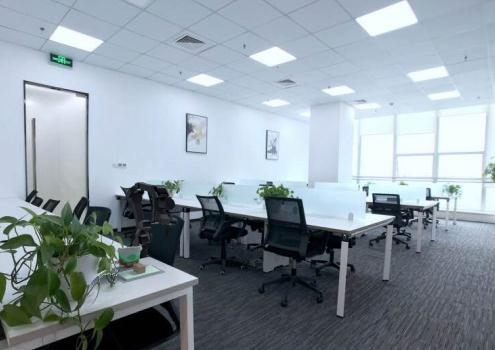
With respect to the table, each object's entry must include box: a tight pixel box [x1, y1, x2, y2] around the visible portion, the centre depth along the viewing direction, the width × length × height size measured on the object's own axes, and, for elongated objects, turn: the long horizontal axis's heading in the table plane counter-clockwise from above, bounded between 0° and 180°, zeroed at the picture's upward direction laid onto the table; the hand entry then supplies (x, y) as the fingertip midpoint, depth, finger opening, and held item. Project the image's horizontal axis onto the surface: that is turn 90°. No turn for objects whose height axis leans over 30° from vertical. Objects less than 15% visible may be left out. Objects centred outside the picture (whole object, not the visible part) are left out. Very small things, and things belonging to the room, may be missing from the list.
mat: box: [115, 265, 166, 284], centre depth 129 cm, size 13×20×1 cm, turn 137°
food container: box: [116, 244, 142, 269], centre depth 138 cm, size 12×6×10 cm, turn 143°
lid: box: [116, 262, 162, 281], centre depth 129 cm, size 10×16×4 cm, turn 137°
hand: (158, 239), depth 144 cm, fingers open, 9 cm apart
